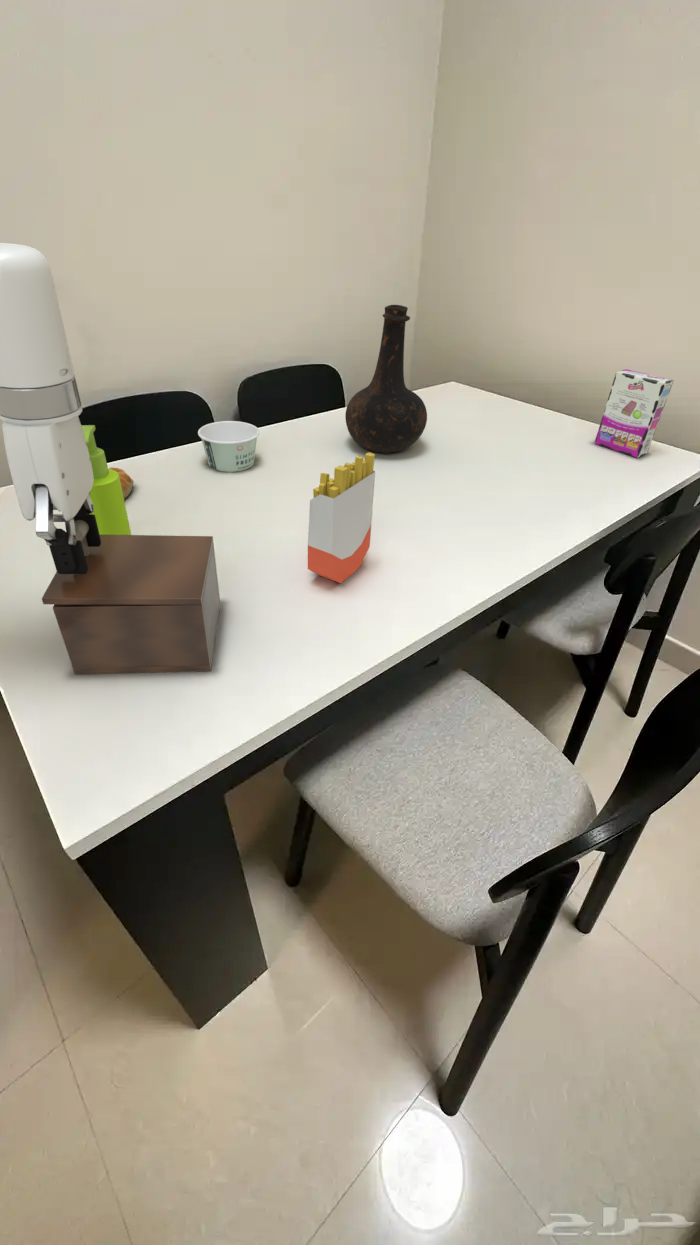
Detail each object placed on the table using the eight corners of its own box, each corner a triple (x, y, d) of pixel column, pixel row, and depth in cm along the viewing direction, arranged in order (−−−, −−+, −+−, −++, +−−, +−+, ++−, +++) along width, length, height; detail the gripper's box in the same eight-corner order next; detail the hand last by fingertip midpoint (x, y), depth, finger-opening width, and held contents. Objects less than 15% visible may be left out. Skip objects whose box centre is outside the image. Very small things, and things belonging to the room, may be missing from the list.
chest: (74, 674, 69) (52, 607, 62) (103, 605, 79) (86, 542, 73) (210, 671, 70) (201, 605, 64) (220, 603, 81) (213, 541, 75)
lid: (43, 604, 62) (30, 563, 59) (78, 539, 73) (69, 501, 70) (201, 604, 64) (197, 564, 61) (213, 541, 75) (210, 504, 72)
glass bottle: (354, 463, 122) (362, 315, 104) (336, 433, 135) (340, 297, 118) (434, 459, 125) (455, 315, 108) (408, 430, 139) (423, 298, 122)
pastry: (126, 508, 102) (122, 487, 99) (86, 508, 101) (80, 488, 98) (135, 484, 109) (131, 465, 107) (98, 485, 108) (93, 466, 106)
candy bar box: (647, 453, 134) (675, 379, 124) (637, 458, 131) (665, 383, 121) (603, 439, 140) (626, 367, 130) (592, 443, 138) (615, 370, 127)
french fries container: (305, 581, 86) (305, 466, 75) (344, 551, 94) (349, 442, 82) (331, 592, 84) (334, 475, 73) (369, 560, 92) (377, 450, 81)
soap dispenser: (90, 571, 86) (54, 438, 73) (98, 547, 91) (66, 419, 79) (131, 569, 86) (103, 438, 74) (137, 546, 92) (111, 419, 80)
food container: (236, 479, 113) (233, 447, 109) (188, 465, 117) (184, 433, 113) (272, 460, 121) (271, 429, 117) (227, 446, 126) (224, 416, 121)
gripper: (26, 371, 62) (68, 522, 73) (-44, 428, 49) (19, 602, 60) (99, 373, 63) (129, 523, 74) (49, 430, 49) (95, 602, 61)
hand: (80, 557), depth 67 cm, fingers closed on lid, 5 cm apart
